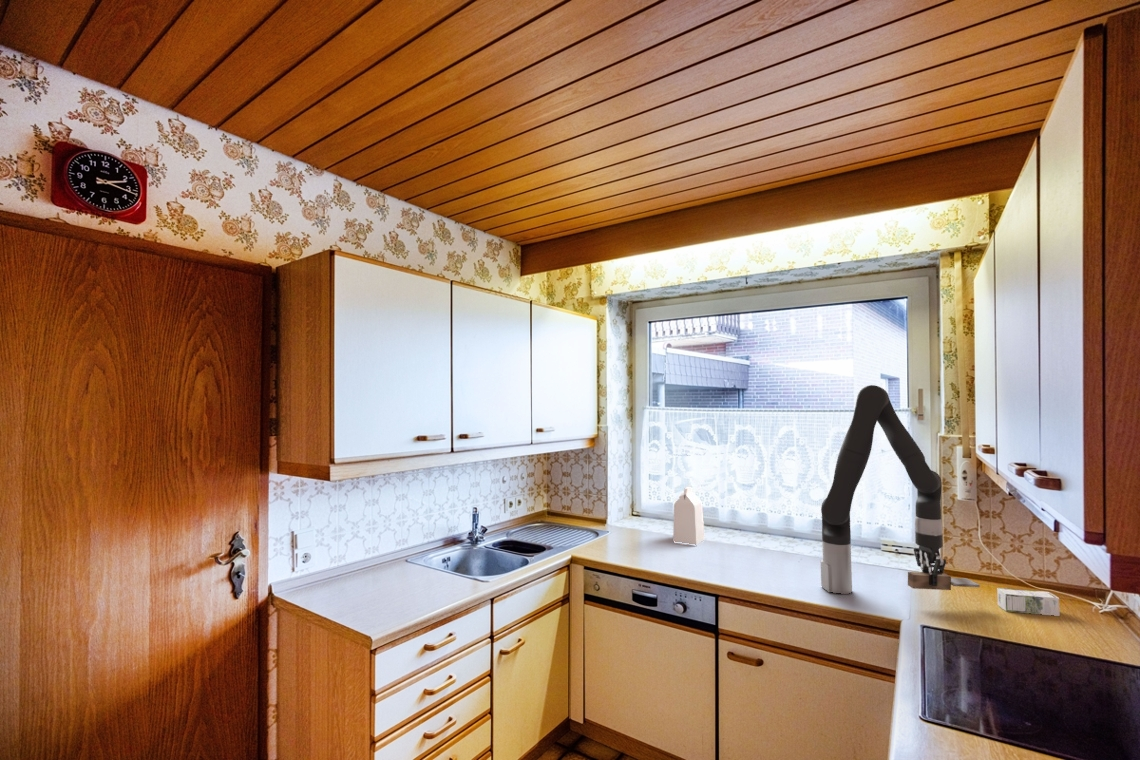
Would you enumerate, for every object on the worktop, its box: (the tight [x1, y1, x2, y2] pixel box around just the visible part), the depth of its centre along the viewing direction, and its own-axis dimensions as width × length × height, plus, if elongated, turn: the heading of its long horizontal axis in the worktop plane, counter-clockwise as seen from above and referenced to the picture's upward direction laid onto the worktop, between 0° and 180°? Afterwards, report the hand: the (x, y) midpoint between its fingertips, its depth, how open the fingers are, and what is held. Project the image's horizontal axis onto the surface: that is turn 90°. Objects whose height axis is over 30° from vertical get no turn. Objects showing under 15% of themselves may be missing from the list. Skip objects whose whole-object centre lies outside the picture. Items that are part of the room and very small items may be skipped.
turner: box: [907, 571, 981, 591], centre depth 175 cm, size 20×6×4 cm, turn 87°
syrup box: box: [996, 587, 1061, 617], centre depth 171 cm, size 6×6×14 cm
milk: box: [672, 486, 706, 545], centre depth 256 cm, size 12×12×26 cm
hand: (929, 583), depth 175 cm, fingers closed on turner, 3 cm apart
